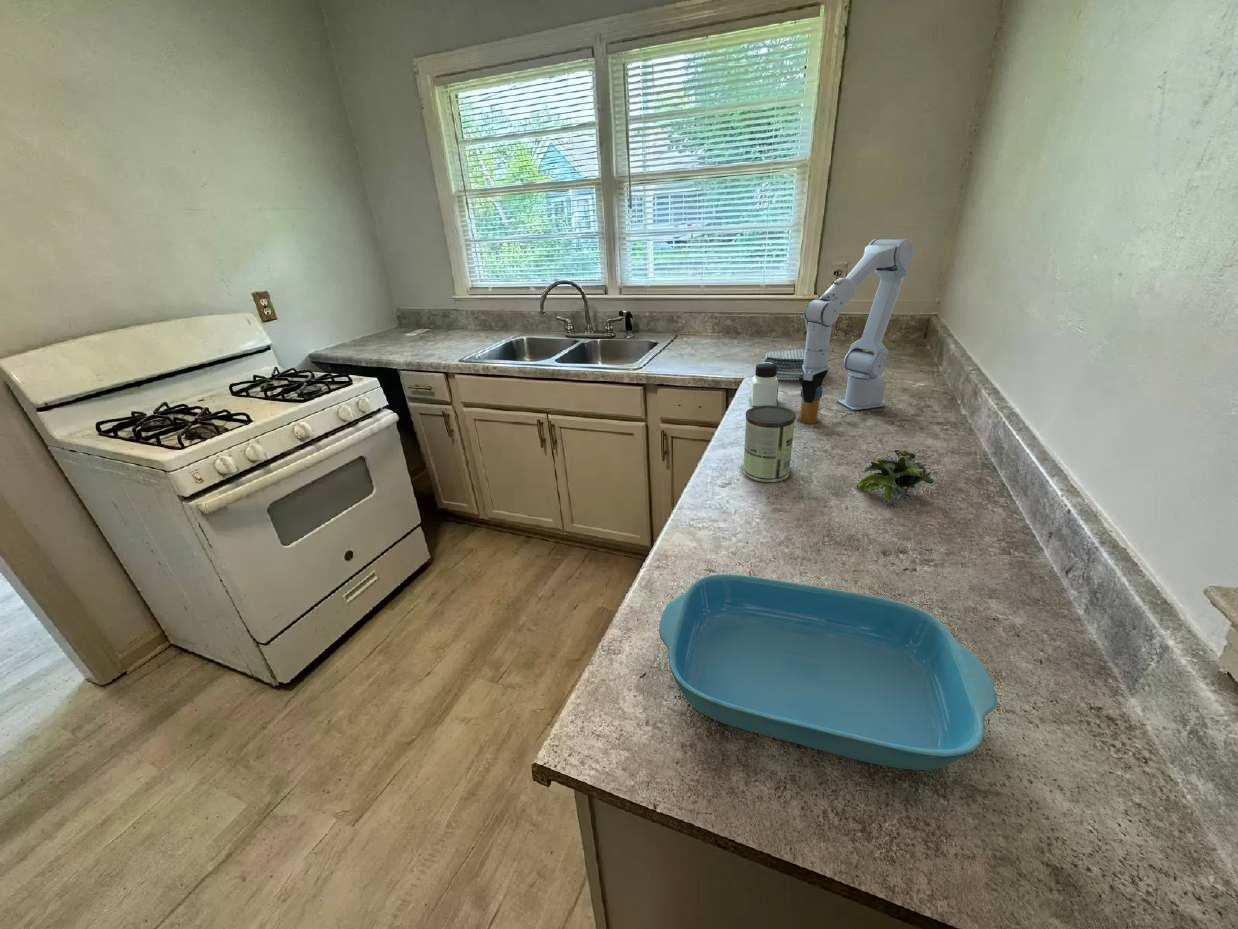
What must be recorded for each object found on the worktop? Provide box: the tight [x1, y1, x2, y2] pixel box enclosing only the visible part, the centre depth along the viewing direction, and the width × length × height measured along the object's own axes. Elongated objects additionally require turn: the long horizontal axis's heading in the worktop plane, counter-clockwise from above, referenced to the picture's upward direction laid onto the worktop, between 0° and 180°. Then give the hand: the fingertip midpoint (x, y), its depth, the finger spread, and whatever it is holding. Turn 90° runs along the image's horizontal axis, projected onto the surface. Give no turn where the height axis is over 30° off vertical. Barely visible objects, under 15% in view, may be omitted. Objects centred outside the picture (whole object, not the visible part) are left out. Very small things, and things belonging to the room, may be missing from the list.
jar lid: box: [800, 385, 823, 400], centre depth 132 cm, size 5×5×2 cm
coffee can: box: [742, 405, 797, 483], centre depth 108 cm, size 10×10×14 cm
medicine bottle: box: [750, 361, 779, 407], centre depth 147 cm, size 7×7×12 cm
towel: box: [761, 348, 805, 382], centre depth 171 cm, size 15×18×8 cm
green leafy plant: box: [856, 449, 935, 506], centre depth 98 cm, size 11×11×12 cm
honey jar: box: [799, 397, 821, 424], centre depth 134 cm, size 5×5×9 cm
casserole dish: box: [658, 573, 998, 771], centre depth 60 cm, size 37×22×7 cm, turn 72°
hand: (810, 398), depth 133 cm, fingers closed on jar lid, 5 cm apart
